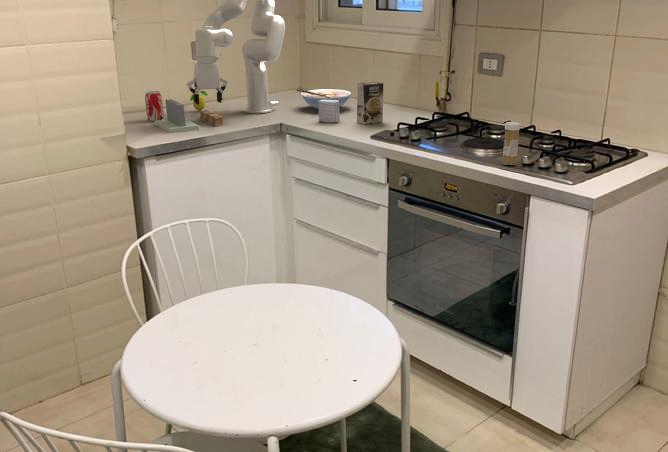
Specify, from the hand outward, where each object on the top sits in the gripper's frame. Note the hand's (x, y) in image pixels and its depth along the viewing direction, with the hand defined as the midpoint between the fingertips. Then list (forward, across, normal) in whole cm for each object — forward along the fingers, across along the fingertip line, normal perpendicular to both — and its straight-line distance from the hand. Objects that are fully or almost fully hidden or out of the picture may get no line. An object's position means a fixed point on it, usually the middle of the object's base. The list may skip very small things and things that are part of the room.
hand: (208, 103), depth 269 cm
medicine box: (+7, -43, +26) cm, 51 cm away
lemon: (+8, -6, -26) cm, 28 cm away
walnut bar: (+8, -1, 0) cm, 9 cm away
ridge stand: (+9, +14, 0) cm, 16 cm away
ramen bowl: (+7, -56, +2) cm, 57 cm away
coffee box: (+7, -56, +37) cm, 67 cm away
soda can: (+9, +17, -18) cm, 26 cm away
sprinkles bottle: (+8, -55, +116) cm, 128 cm away
